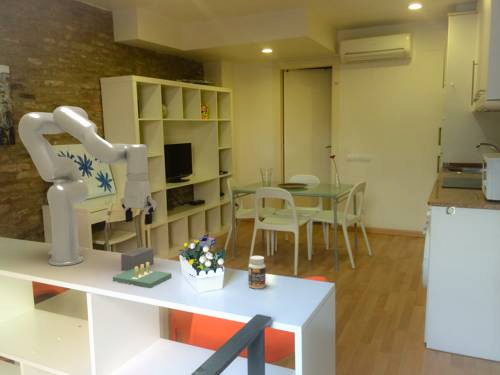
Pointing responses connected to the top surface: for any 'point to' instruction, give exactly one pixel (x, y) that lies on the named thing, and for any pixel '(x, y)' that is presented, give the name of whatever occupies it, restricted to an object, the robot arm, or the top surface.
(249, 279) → the pill bottle
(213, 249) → the ink cartridge box
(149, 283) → the board
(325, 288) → the top surface
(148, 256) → the block
